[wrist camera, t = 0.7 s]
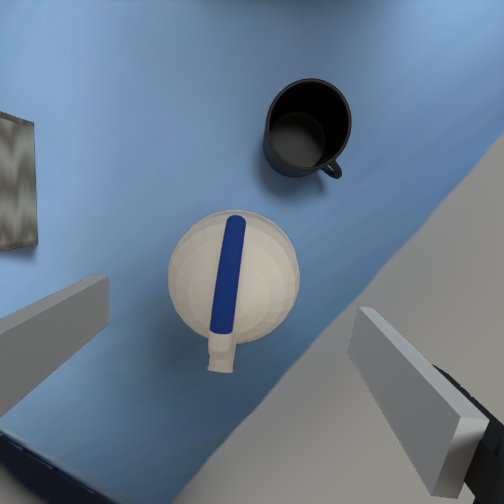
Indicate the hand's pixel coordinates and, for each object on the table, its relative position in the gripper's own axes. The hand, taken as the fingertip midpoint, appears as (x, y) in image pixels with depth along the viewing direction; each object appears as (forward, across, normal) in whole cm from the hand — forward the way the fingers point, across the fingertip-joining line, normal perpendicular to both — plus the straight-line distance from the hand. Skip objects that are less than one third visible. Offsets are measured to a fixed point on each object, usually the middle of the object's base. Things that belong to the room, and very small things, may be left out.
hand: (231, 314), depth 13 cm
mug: (+27, +6, +14) cm, 31 cm away
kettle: (+27, -1, -6) cm, 28 cm away
